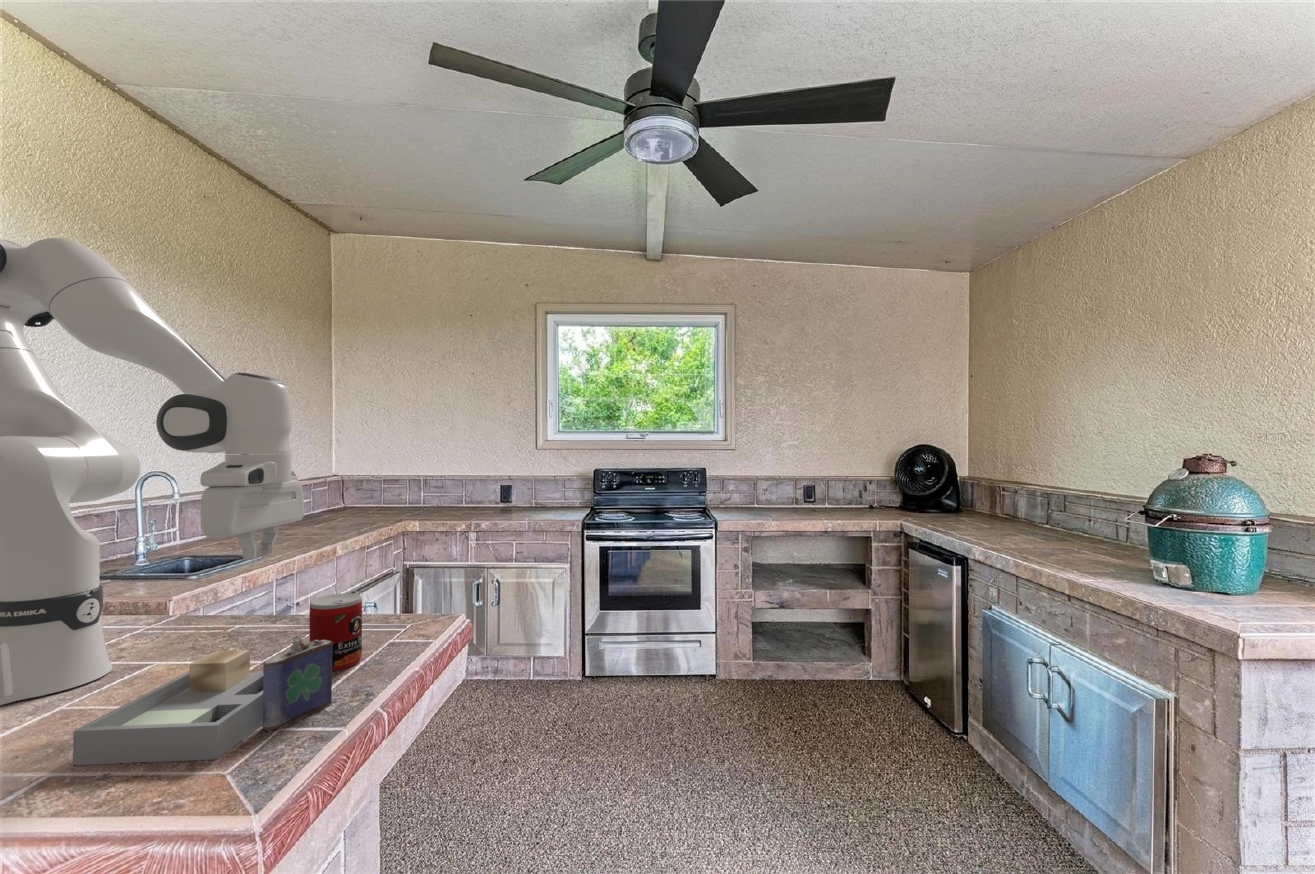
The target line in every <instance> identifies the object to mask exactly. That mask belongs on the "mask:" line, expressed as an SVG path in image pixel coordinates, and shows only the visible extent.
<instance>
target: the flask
mask: <svg viewBox="0 0 1315 874" xmlns="http://www.w3.org/2000/svg"><path fill="white" fill-rule="evenodd" d="M302 637H303V636H300V635H296V636H294V637H292V638H291V639H288V641H289V642H291V641H292V645H291V646H290V649H291V650H288V651H286V652H285V651H284V652H283V653H280V654H277V655H275V656H272V657H270V658H268V659H266V660H264V662H263V663H262V665H263V667H262V669H263V671H262V672H263V674H264V677H263V724H262V725H261V726H262V729H263V731H264V732H266V731H267V732H270V733H271V732H272V731H273V730H279V729H282V728H284V727H286V726H287V725H288V724H292V723H295V722H297V721H299V720H302V719H303V718H306V717H307V715H309V714H314V713H315V712H316V711H320V710H322V709H324V708H326V707H329V706H330V705H331V704H332V703H333V702H332V693H333V692H332V689H333V688H332V687H333V686H332V685H333V684H332V681H333V671H332V654H333V652H332V649H333V642H332V641H328V640H321V641H319V640H314V641H313V642H310V641H309V642H307V643H306V642H304V641H303V640H304V639H303V638H302ZM314 642H315V643H314Z"/></svg>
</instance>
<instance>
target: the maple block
mask: <svg viewBox="0 0 1315 874" xmlns="http://www.w3.org/2000/svg"><path fill="white" fill-rule="evenodd" d="M250 651H251V650H250V649H246V650H245V649H243V650H239V649H238V650H215V651H213V652H211V653H209V654H206V655H205V656H203V657H201V658H199V659H197V660H195V661H193V662H191V663H189V671H190V674H189V692H211V691H227V690H228V689H230V688H232V687H233V686H235V685H237V684H238V683H240V682H241V681H243V680H245V679H246V678H248V677H250V673H251V672H250V666H251V665H250V663H251V660H250V658H251V655H250Z"/></svg>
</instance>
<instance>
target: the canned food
mask: <svg viewBox="0 0 1315 874" xmlns="http://www.w3.org/2000/svg"><path fill="white" fill-rule="evenodd" d="M308 615H309V616H308V617H309V628H308V629H309V642H313V641H314V640H319V641H321V640H328V641H332V642H333V649H332V652H333V654H332V672H337V670H338V671H343V670H345V669H349V668H351V666H352V667H353V665H354V666H356V665H357V664H358V663H360V661H361V659H362V655H363V654H362V653H363V650H362V649H363V647H362V646H363V599H362V595H361V594H358V593H346V592H345V593H335V594H334V593H333V594H328V595H323V596H319V597H317V598H314V599H312V600H311V601H310V602H309V614H308ZM314 643H315V642H314ZM355 664H356V665H355ZM348 667H349V668H348Z"/></svg>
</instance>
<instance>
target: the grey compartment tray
mask: <svg viewBox="0 0 1315 874" xmlns="http://www.w3.org/2000/svg"><path fill="white" fill-rule="evenodd" d="M189 674H190V670H189V671H187V672H185V673H183V674H180V675H179V676H177V677H175V678H173V679H172V680H170V681H168V682H165V683H164V684H161V685H160V686H157V687H156V688H154V689H151V690H150V691H148V692H146V693H144V694H142V695H141V696H139V697H137V698H134V699H133V700H131V701H129V702H127V703H124V704H122V705H121V706H119V707H117V708H115V709H113V710H112V711H109V712H108V713H105V714H104V715H101V716H99V717H98V718H95V719H93V720H92V721H90V722H88V723H86V724H84V725H82V726H80V727H78V728H76V729H74V730H73V733H72V734H73V735H72V737H73V739H72V740H73V742H72V743H73V745H72V747H73V748H72V765H73V767H75V766H74V765H76V767H77V766H93V765H94V766H95V765H97V766H98V765H117V764H118V763H119V764H118V765H120V763H123V764H139V762H140V764H142V763H141V762H146V763H161V762H163V763H164V762H167V763H168V762H184V761H185V762H186V761H187V762H189V761H209V760H211V761H212V760H219V758H221V757H222V756H224V755H225V754H227V753H228V752H229V751H230V750H231V749H233V748H234V747H235V746H236V745H238V744H239V743H241V741H243V740H245V739H246V738H247V737H248V736H250V735H251V734H253V732H255V731H256V730H257V729H260V727H261V726H262V724H263V677H264V674H263V671H262V672H261V671H260V672H259V671H256V672H250V677H248V678H246V679H245V680H243V681H241V682H240V683H238V684H237V685H235V686H233V687H232V688H230V689H228V690H227V691H211V692H189ZM133 762H135V763H133ZM136 762H137V763H136Z"/></svg>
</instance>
